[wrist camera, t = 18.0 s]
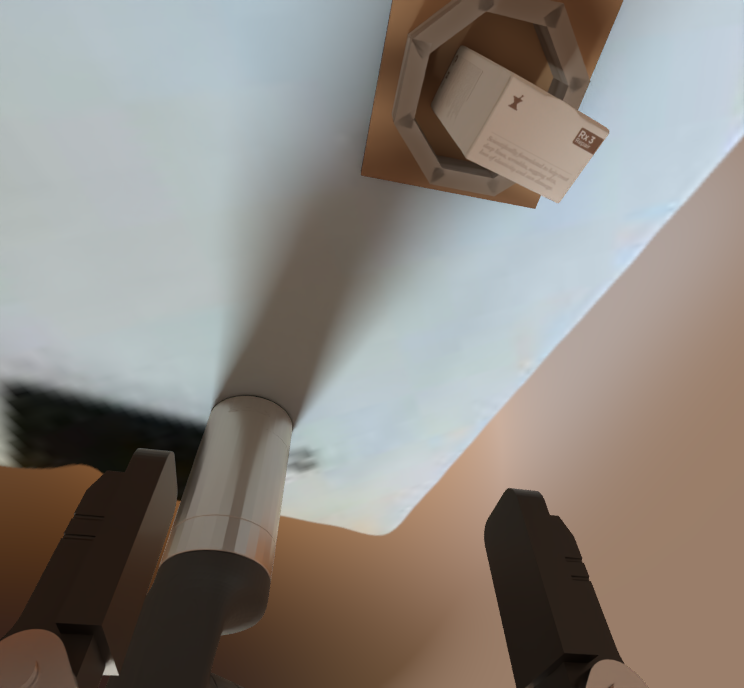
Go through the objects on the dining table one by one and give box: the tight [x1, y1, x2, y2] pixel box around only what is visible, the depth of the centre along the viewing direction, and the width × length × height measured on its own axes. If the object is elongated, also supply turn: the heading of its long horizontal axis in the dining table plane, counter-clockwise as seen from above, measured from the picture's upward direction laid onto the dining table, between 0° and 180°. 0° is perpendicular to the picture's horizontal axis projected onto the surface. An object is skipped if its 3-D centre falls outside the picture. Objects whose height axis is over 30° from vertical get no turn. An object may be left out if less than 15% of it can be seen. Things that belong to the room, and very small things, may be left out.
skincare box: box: [431, 45, 609, 203], centre depth 28 cm, size 6×4×12 cm
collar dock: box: [361, 0, 623, 209], centre depth 32 cm, size 14×14×4 cm
